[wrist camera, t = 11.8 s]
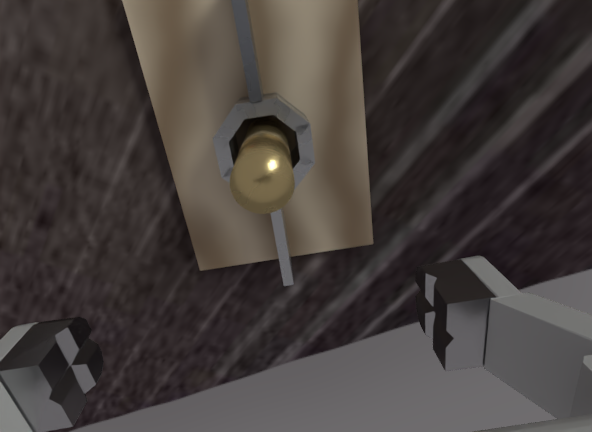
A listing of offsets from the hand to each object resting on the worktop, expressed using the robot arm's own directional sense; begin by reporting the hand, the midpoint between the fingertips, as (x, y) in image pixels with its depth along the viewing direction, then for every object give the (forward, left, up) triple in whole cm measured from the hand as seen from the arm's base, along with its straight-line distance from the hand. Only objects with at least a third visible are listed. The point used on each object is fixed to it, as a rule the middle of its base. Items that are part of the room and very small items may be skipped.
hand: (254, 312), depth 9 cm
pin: (0, 0, -22) cm, 22 cm away
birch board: (0, 0, -23) cm, 23 cm away
